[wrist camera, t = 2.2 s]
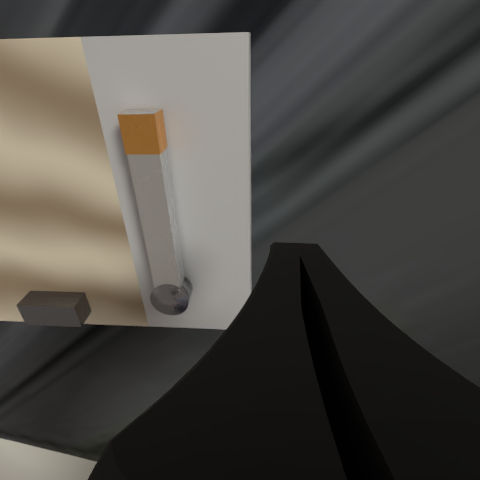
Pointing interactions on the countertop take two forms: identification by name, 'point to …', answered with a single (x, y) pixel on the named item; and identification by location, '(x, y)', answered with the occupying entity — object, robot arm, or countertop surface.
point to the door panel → (59, 187)
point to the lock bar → (156, 206)
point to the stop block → (54, 308)
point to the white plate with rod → (186, 157)
